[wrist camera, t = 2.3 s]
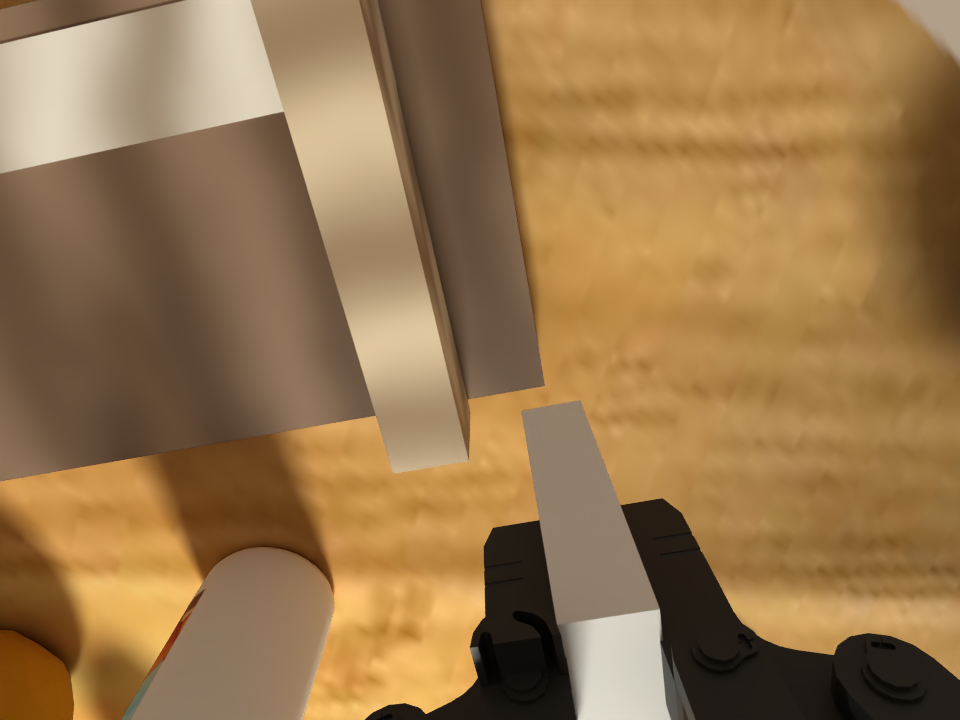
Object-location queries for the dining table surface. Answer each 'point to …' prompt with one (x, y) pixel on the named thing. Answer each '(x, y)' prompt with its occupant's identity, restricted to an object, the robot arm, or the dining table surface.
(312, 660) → the milk bottle
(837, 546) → the dining table surface
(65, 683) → the apple
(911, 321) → the dining table surface
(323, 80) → the folding leg
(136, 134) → the stool seat
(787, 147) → the dining table surface
